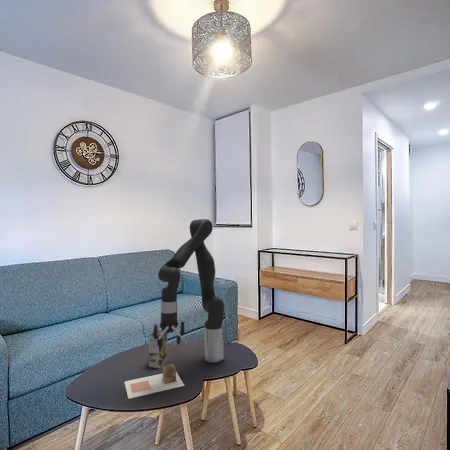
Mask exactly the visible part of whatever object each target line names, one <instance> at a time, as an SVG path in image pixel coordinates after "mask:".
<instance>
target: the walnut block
mask: <svg viewBox="0 0 450 450" xmlns="http://www.w3.org/2000/svg"><path fill="white" fill-rule="evenodd" d="M176 372H177V368H176V365H175V364H174V363H169V364H166V365H164V364H163V365H162V374H163V380H164V382H165V384H167V383H171V382H176Z"/></svg>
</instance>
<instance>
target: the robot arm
mask: <svg viewBox="0 0 450 450" xmlns="http://www.w3.org/2000/svg"><path fill="white" fill-rule="evenodd" d="M213 226H214V225H213V223H212V221H211V220H210V219H209V218H201V219H200V218H199V219H194V220H192V221H191V222H190V224H189V233H190V237H191V238H189V239H188V240H187V241H186V242H184V243H183V244H182V245H181V246H180V247H179V248H178V249H177V250H176V251H175V253H174V255H173V256H172V257H171V258H170V259H169V260H167V262H165V263H164V264H163V265H162V266H161V267H160V269H159V271H158V275H157V277H158V279H159V281H161V282H163V283H167V286H166V287H163V288H162V289H161V294H160V295H161V303H160V323H159V324H158V323H157V324H156V323H154V324H153V330H152V333H153V337H154V339H157V345H158V346H159V348H160V347H161V337H162V336H163V335H164V334H165V333H167V334H169V333H171V334H172V333H175V334H176V345H180V344H181V340H182V339H181V337H182V336H183V335H185V322H184V321H183V320H180V321H178V309H179V308H178V289H179V285H180V282H181V281H180V280H181V272H180V270H179V269H182V268H184V267H185V266H186V265H187V263H188V261H189V260H190V258H191V256H192V255H193V254H194V253H195V259H196V266H197V271H198V279H199V285H200V291H201V305H202V309H203V310H204V311H205V312H206V313H207V320H205V321H204V360H205V361H206V362H208V363H211V364H212V363H214V364H215V363H219V362H221V361H222V360H224V358H225V357H224V340H223V322H224V317H225V316H224V312H225V311H224V310H225V309H224V308H225V306H224V301H223V300H222V299H221V298H219V297H217V296H216V293H215V289H214V282H215V278H216V266H215V265H216V264H215V260H214V257H213V256H212V254H211V252H210V251H209V249H208V248H207V247H206V245H205V241H206V239H207V238H209V236H210V235H211V234H212V231H213V228H214V227H213ZM178 326H179V327H180V331H179V330H178V329H177V327H178ZM159 328H161V329H159ZM157 330H160V332H159V334H158V335H157Z"/></svg>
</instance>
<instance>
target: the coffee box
mask: <svg viewBox="0 0 450 450" xmlns="http://www.w3.org/2000/svg"><path fill="white" fill-rule="evenodd" d="M160 330H161V329H158V330H157V335H158V334H159V332H160ZM167 361H168V333H165V334H164V335H163V336H162V337H161V347H160V348H159V346H158V345H157V339H154V337H153V332H152V333H151V334H149V336H148V367H149V368H155V369H161V368H163V366H164V364H166V362H167Z"/></svg>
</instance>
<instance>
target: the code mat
mask: <svg viewBox="0 0 450 450" xmlns="http://www.w3.org/2000/svg"><path fill="white" fill-rule="evenodd" d="M176 381H177V382H171V383H167V384H165V382H164V380H163V373H159V374H154V375H149V376H145V377H139V378H134V379H129V380H126V381H124V386H125V390H126V393H127V399H133V398H137V397H142V396H147V395H151V394H155V393H158V392H159V393H160V392H163V391H167V390H171V389H176V388H181V387H184V386H185V384H184V382H183V381H182V378H181V377H180V376H179V374H178V372H177V371H176Z"/></svg>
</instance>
